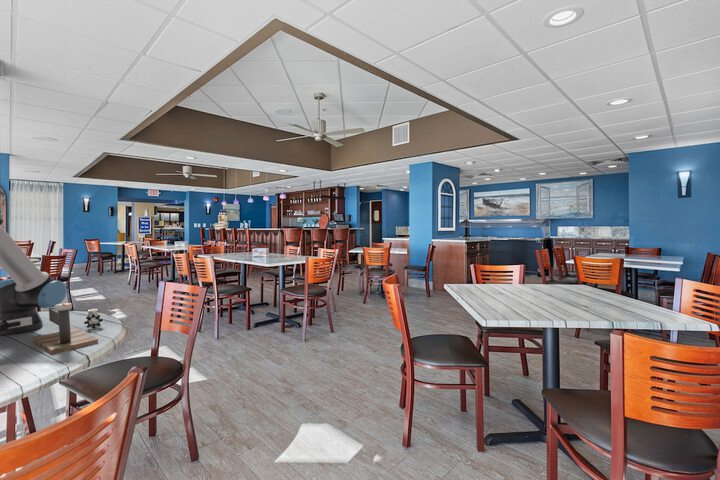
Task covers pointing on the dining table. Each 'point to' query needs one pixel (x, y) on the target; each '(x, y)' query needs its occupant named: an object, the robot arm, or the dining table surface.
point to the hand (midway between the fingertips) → (31, 320)
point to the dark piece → (62, 320)
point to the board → (54, 346)
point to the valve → (93, 318)
